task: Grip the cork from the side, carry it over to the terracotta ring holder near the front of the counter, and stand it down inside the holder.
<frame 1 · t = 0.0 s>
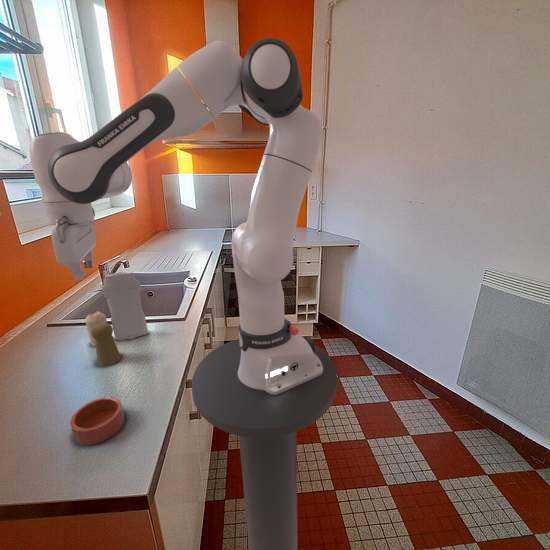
hand: (85, 273, 71), 28 cm above the worktop, tool pointing down, fingers open, 8 cm apart
cork: (109, 360, 86), on the worktop
candle: (101, 342, 96), on the worktop
tall pale column: (132, 336, 98), on the worktop
holder: (100, 426, 63), on the worktop
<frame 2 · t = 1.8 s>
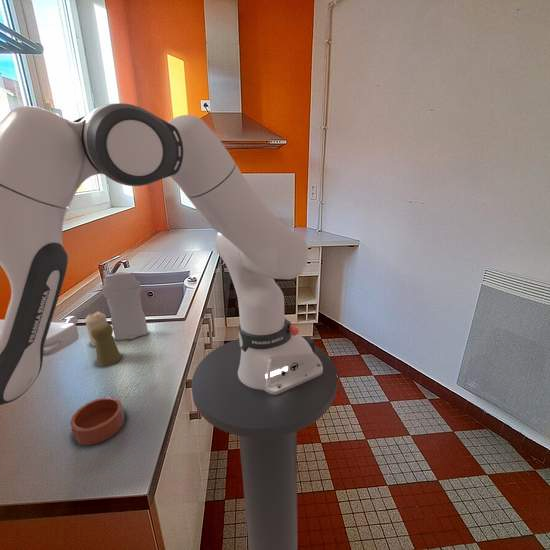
hand: (55, 317, 68), 20 cm above the worktop, tool horizontal, fingers open, 8 cm apart
nothing on the worktop moved.
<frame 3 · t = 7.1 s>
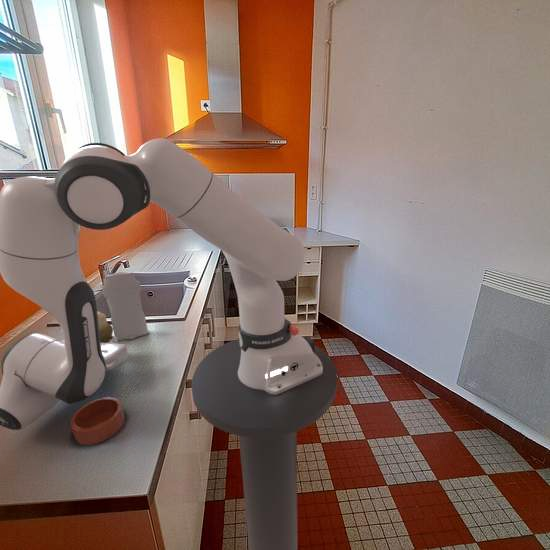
hand: (106, 338, 85), 7 cm above the worktop, tool horizontal, fingers closed on cork, 4 cm apart
cork: (109, 360, 86), on the worktop, touching gripper
everything else where it was.
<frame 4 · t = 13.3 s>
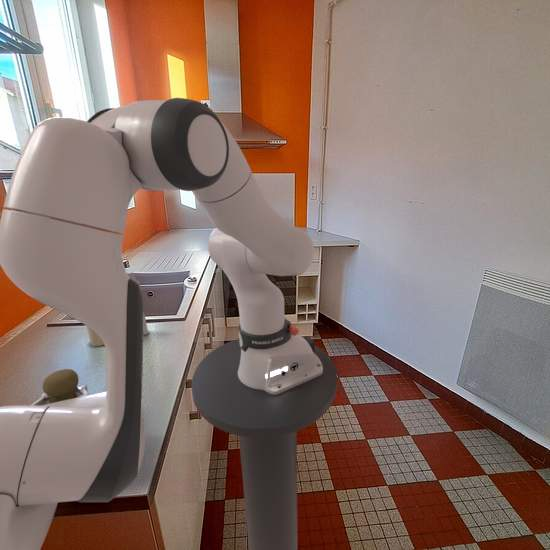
hand: (66, 391, 55), 13 cm above the worktop, tool horizontal, fingers closed on cork, 4 cm apart
cork: (74, 424, 56), point 6 cm above the worktop, touching gripper
everything else where it was.
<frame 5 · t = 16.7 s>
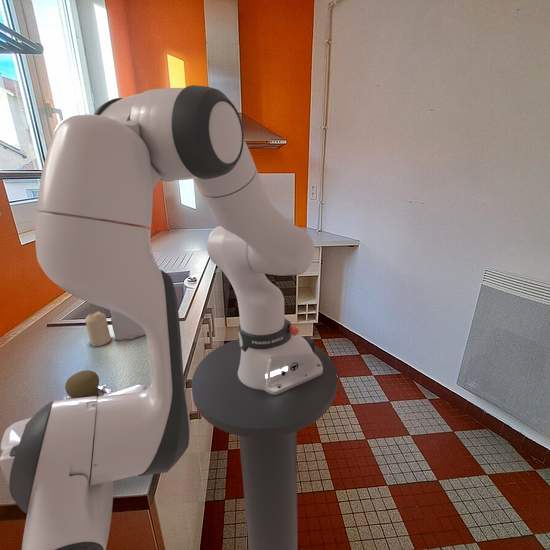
hand: (86, 392, 56), 12 cm above the worktop, tool horizontal, fingers closed on cork, 4 cm apart
cork: (94, 424, 57), point 5 cm above the worktop, touching gripper
everything else where it was.
when the fingers open (7 cm above the worktop, at t = 19.4 s): cork stays where it is, resting on holder.
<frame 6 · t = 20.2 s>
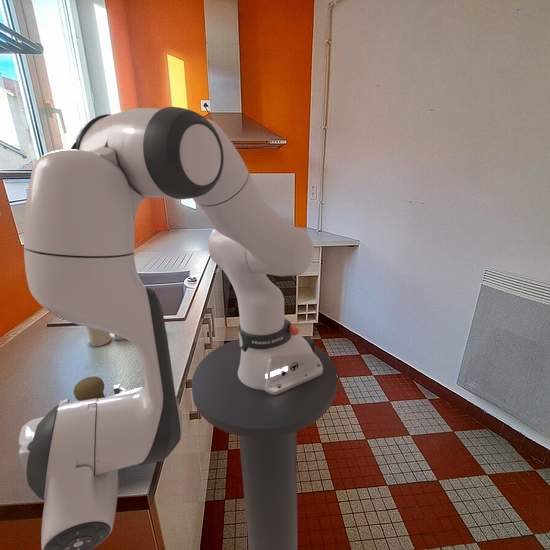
hand: (92, 393, 62), 8 cm above the worktop, tool horizontal, fingers open, 8 cm apart
cork: (99, 425, 63), resting on holder
everything else where it was.
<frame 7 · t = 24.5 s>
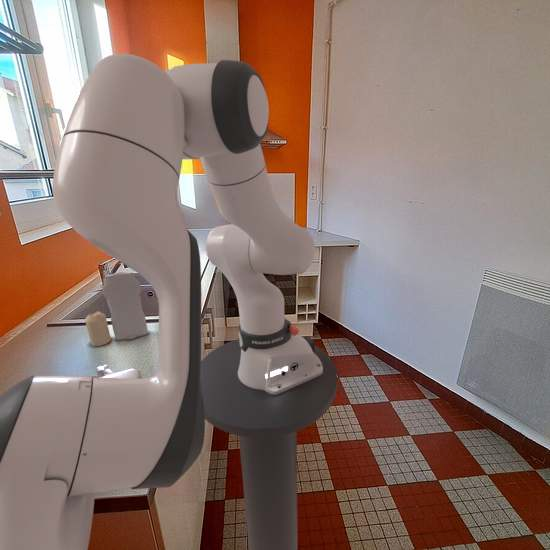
hand: (68, 378, 46), 20 cm above the worktop, tool horizontal, fingers open, 8 cm apart
nothing on the worktop moved.
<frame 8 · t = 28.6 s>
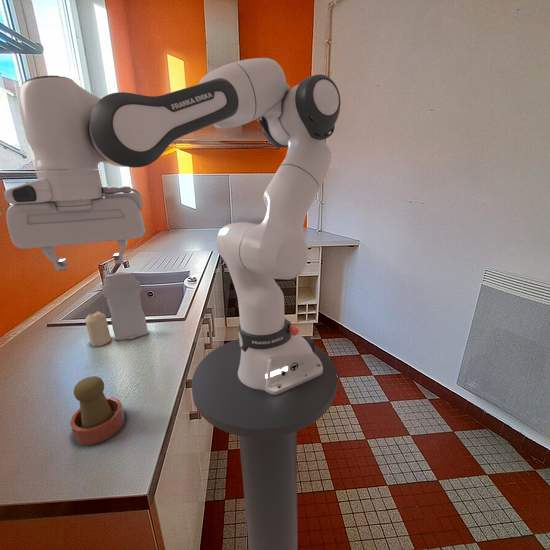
hand: (92, 266, 55), 34 cm above the worktop, tool pointing down, fingers open, 8 cm apart
nothing on the worktop moved.
at the end: cork 0.1 cm off-centre in the holder, point 0.3 cm above the holder's base; cork tilted 0°; the gripper is holding nothing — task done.
